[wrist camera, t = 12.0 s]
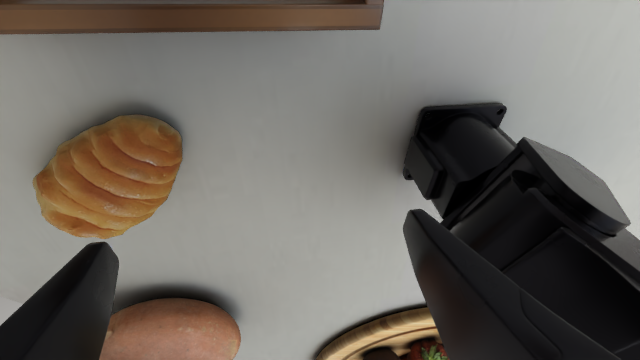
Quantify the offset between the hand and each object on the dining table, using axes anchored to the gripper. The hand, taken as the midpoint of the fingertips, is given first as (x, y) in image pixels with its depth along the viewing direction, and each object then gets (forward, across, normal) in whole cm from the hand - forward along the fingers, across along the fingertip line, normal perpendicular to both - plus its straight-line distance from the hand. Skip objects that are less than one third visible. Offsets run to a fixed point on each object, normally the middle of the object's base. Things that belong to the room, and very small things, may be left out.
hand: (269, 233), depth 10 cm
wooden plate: (+12, -20, +50) cm, 55 cm away
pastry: (+12, +10, +6) cm, 17 cm away
